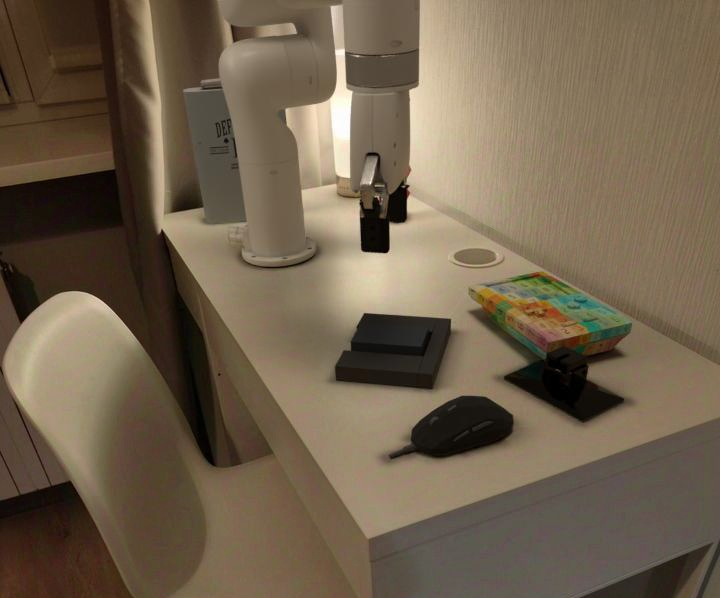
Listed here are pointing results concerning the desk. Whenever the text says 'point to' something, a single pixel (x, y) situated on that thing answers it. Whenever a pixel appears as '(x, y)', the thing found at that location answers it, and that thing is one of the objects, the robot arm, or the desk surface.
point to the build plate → (565, 384)
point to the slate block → (391, 339)
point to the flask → (216, 152)
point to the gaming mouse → (459, 426)
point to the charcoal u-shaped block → (397, 356)
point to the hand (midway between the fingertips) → (384, 235)
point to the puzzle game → (550, 314)
